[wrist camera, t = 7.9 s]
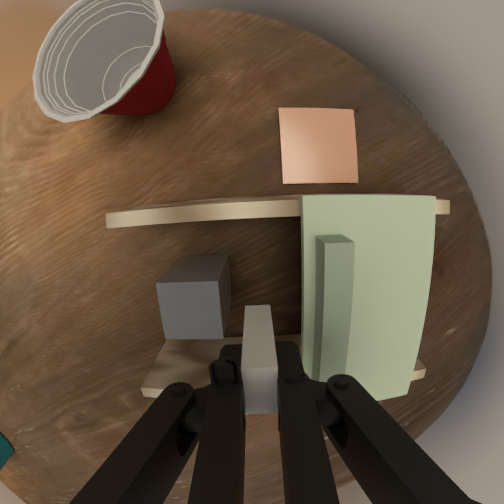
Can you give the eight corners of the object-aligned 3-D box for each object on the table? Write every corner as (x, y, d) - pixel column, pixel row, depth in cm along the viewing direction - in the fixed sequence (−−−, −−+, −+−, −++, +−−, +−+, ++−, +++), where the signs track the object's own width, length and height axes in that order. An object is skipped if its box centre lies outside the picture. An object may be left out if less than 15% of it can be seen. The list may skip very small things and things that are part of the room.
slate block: (187, 300, 29) (165, 338, 21) (182, 256, 28) (155, 282, 20) (232, 298, 29) (223, 339, 21) (228, 254, 28) (217, 281, 20)
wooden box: (169, 344, 30) (143, 396, 21) (149, 203, 27) (105, 213, 18) (387, 332, 29) (423, 377, 21) (397, 193, 26) (449, 200, 17)
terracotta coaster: (282, 183, 26) (283, 183, 26) (278, 109, 25) (278, 107, 24) (356, 182, 26) (358, 182, 25) (351, 111, 24) (353, 109, 24)
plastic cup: (86, 85, 24) (15, 51, 12) (171, 27, 23) (131, -39, 11) (124, 163, 26) (48, 156, 14) (220, 102, 25) (194, 47, 13)
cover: (298, 403, 21) (303, 433, 17) (299, 195, 17) (310, 197, 14) (402, 387, 21) (418, 412, 17) (427, 195, 17) (456, 198, 14)
